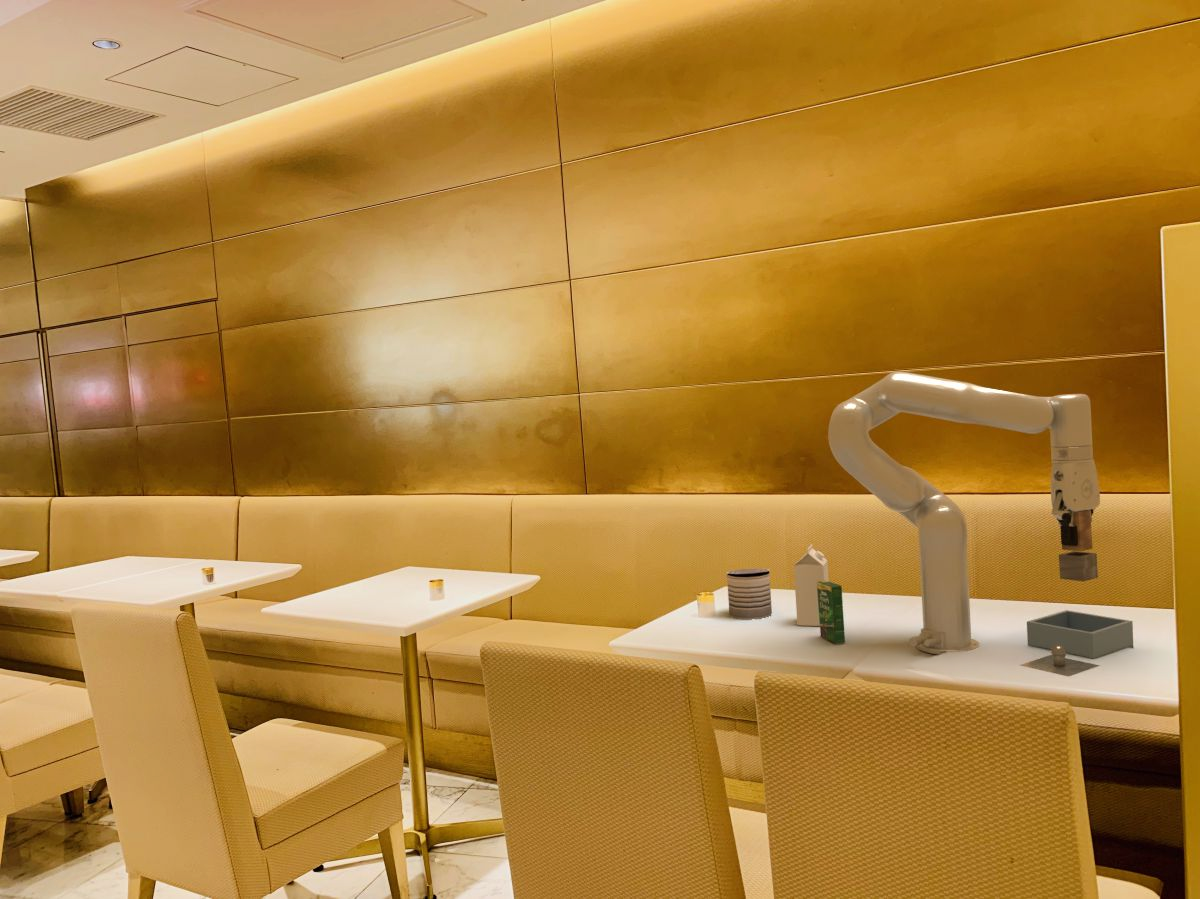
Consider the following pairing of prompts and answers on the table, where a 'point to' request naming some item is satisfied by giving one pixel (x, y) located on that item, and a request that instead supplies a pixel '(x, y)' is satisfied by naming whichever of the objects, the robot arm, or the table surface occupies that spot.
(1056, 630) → the bin
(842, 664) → the table surface
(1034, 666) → the stud plate
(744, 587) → the can
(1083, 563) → the strut
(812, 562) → the milk carton
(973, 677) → the table surface
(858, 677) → the table surface
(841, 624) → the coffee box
